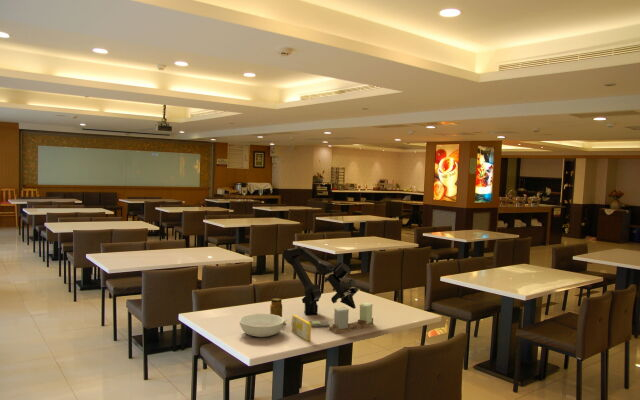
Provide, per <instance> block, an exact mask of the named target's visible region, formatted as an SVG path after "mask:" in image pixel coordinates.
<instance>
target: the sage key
mask: <svg viewBox="0 0 640 400" xmlns="http://www.w3.org/2000/svg"><path fill="white" fill-rule="evenodd" d="M372 318H373V303H370V302H367V301H366V302H363V303H361V304H359V320H364V321H367V324H368V323H370V322H372Z"/></svg>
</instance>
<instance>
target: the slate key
mask: <svg viewBox="0 0 640 400" xmlns="http://www.w3.org/2000/svg"><path fill="white" fill-rule="evenodd" d="M333 310H334V312H333V313H334V317H333V318H334V319H333V320H334V321H333V324H335V325H337V326H338V329H345V328H348V324H349V312H350V309H349V308H348V307H345V306H342V307H335V308H333Z"/></svg>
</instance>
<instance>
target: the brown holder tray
mask: <svg viewBox="0 0 640 400" xmlns="http://www.w3.org/2000/svg"><path fill="white" fill-rule="evenodd" d="M331 324H332V325H330V327H328V330H329V331H331V332H333V334H341V333H348V332H351V331H352V330H353V331H354V330H358V329H364V330H365V329H367V328H369V327H371V326H373V325H374V317H372V322H370V323H368V324H367V321H364V320H360V319H358V320H357V321H355V322H348V328H345V329H338V326H337V325H335V324H334V323H331Z"/></svg>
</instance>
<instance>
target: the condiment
mask: <svg viewBox="0 0 640 400" xmlns="http://www.w3.org/2000/svg"><path fill="white" fill-rule="evenodd" d="M269 308H270V309H269V311H270V313H269V314H273V315H277V316H280V317H282V318H283V304H282V299H281V298H279V297H275V298H274V297H273V298H272V299H271V301H270V307H269ZM283 325H287V320H286V319H284V324H283Z"/></svg>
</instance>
